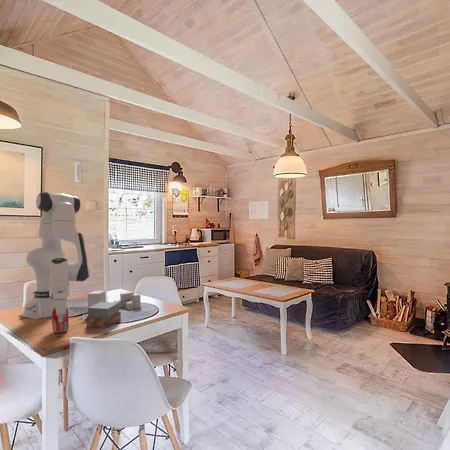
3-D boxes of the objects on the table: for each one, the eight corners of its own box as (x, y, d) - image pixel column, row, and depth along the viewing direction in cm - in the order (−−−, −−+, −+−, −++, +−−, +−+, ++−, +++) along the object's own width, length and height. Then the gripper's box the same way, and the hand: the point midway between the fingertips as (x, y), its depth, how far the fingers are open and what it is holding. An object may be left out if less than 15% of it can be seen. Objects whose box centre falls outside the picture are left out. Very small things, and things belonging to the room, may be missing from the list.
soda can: (56, 329, 156) (55, 305, 157) (71, 328, 157) (70, 304, 157) (49, 334, 149) (48, 308, 150) (65, 333, 150) (64, 307, 150)
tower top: (88, 317, 160) (88, 307, 160) (100, 311, 171) (100, 301, 171) (108, 318, 158) (107, 308, 158) (119, 311, 169) (118, 302, 169)
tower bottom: (86, 327, 160) (86, 317, 160) (101, 319, 172) (100, 310, 172) (107, 329, 158) (107, 319, 157) (120, 321, 169) (120, 311, 169)
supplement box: (106, 312, 185) (106, 290, 184) (99, 316, 177) (99, 293, 177) (95, 311, 186) (94, 290, 185) (87, 315, 179) (87, 293, 178)
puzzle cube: (113, 307, 195) (113, 294, 195) (132, 303, 203) (132, 291, 202) (121, 311, 186) (121, 298, 186) (140, 307, 194) (140, 294, 193)
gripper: (51, 288, 161) (52, 315, 161) (53, 297, 143) (53, 327, 144) (65, 286, 164) (65, 313, 165) (68, 295, 147) (69, 324, 147)
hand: (60, 319), depth 154 cm, fingers open, 6 cm apart
